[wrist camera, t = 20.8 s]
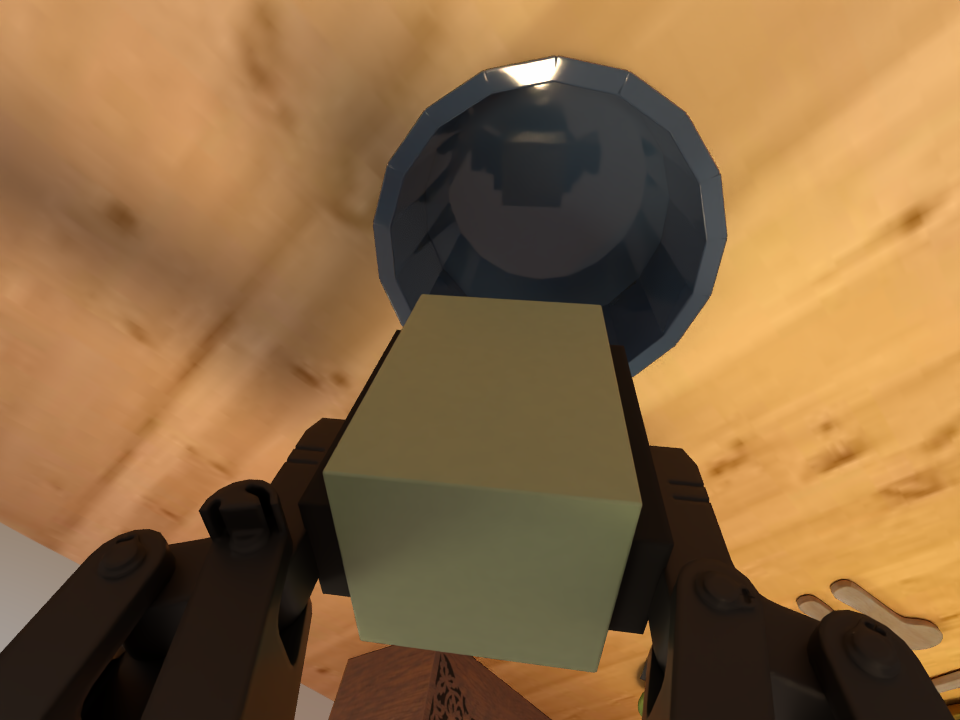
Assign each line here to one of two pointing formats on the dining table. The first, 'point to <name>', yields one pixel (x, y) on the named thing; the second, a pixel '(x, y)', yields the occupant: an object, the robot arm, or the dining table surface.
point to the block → (489, 484)
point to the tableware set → (909, 630)
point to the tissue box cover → (425, 689)
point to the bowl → (557, 201)
